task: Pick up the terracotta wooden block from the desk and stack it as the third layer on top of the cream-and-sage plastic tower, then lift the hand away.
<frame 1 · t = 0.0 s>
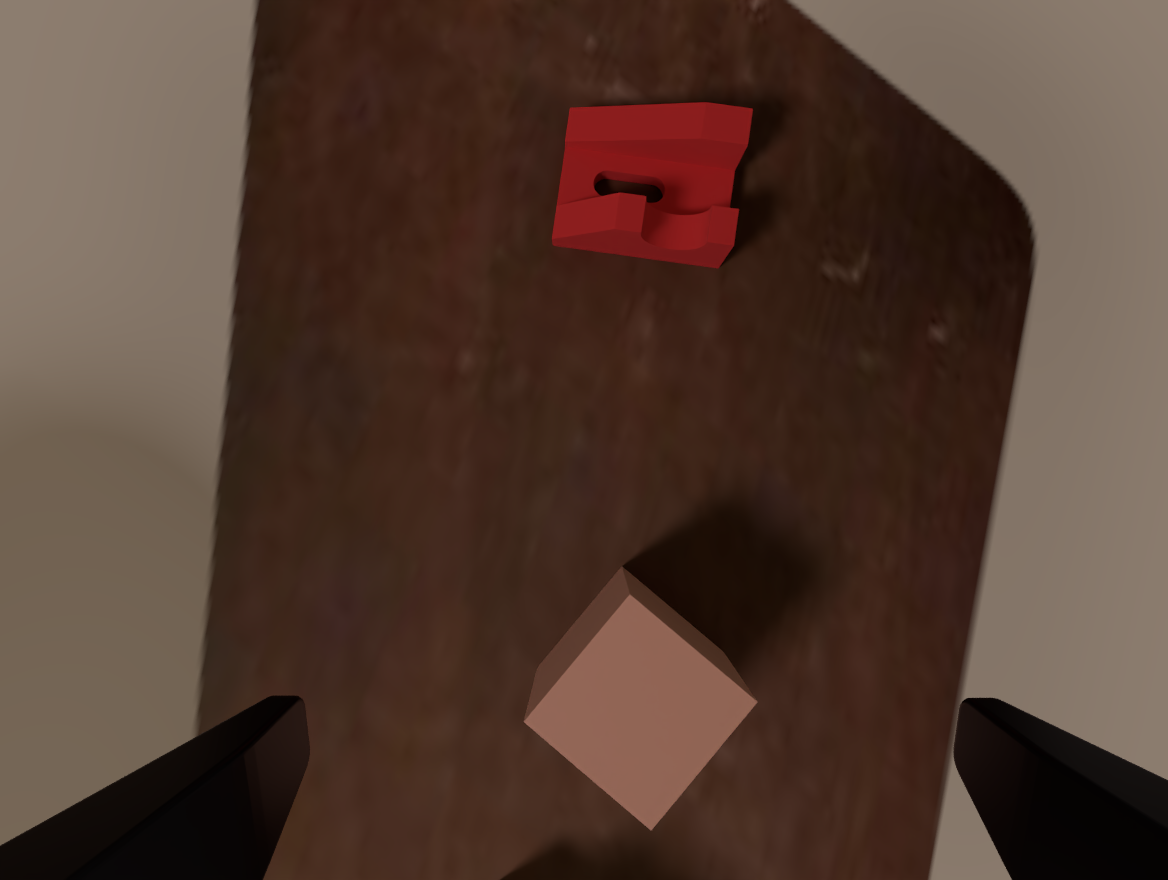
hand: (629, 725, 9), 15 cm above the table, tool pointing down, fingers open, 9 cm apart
terracotta block: (630, 658, 24), on the table
bracket: (643, 201, 25), on the table
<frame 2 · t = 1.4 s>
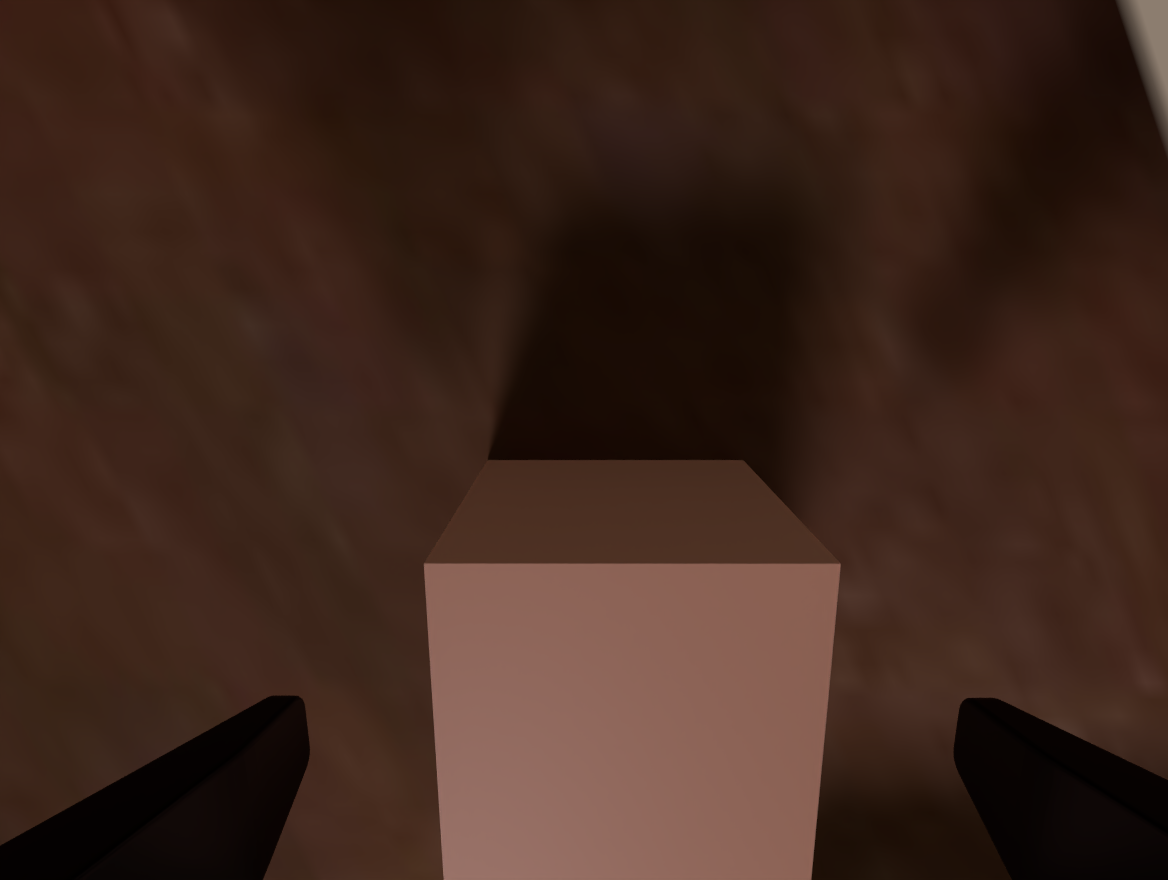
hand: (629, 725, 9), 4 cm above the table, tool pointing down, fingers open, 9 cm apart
terracotta block: (614, 576, 13), on the table
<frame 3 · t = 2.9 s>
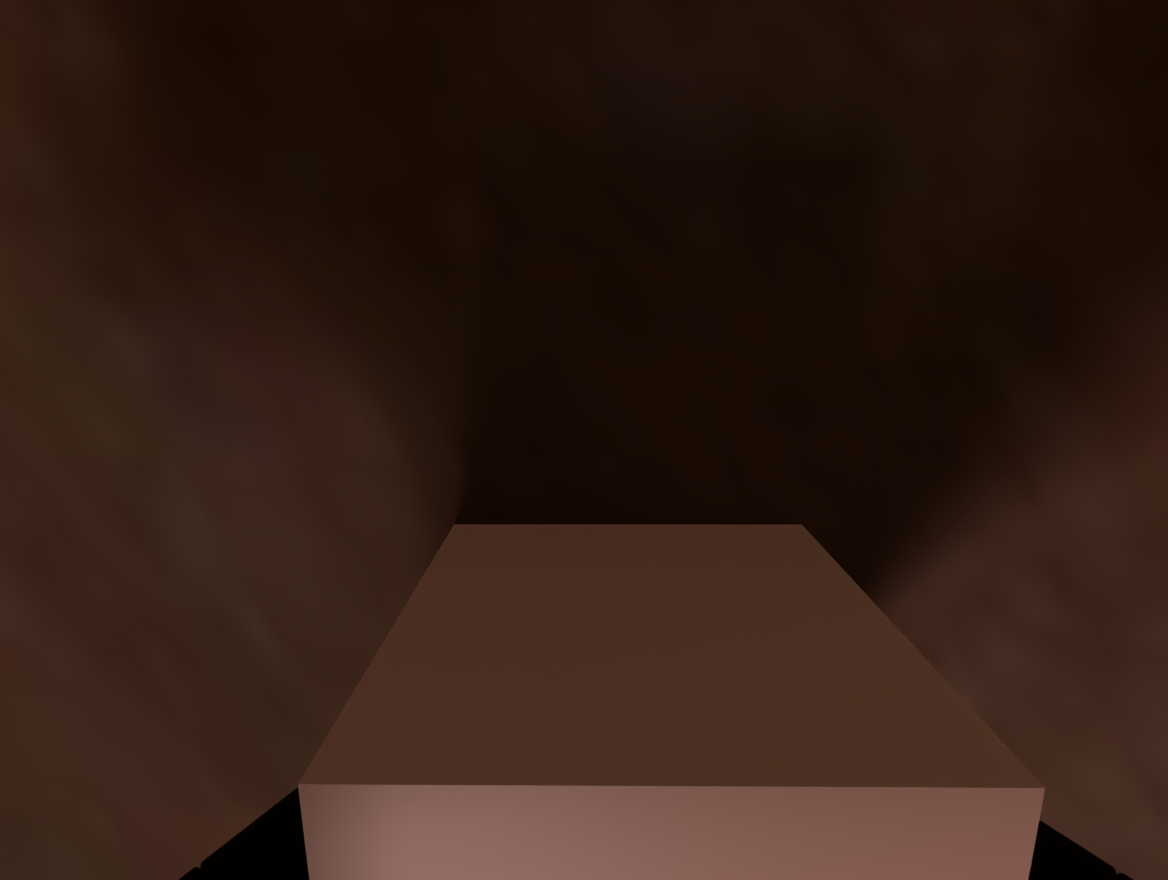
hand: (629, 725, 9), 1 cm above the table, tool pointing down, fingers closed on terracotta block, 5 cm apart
terracotta block: (625, 679, 10), on the table, touching gripper
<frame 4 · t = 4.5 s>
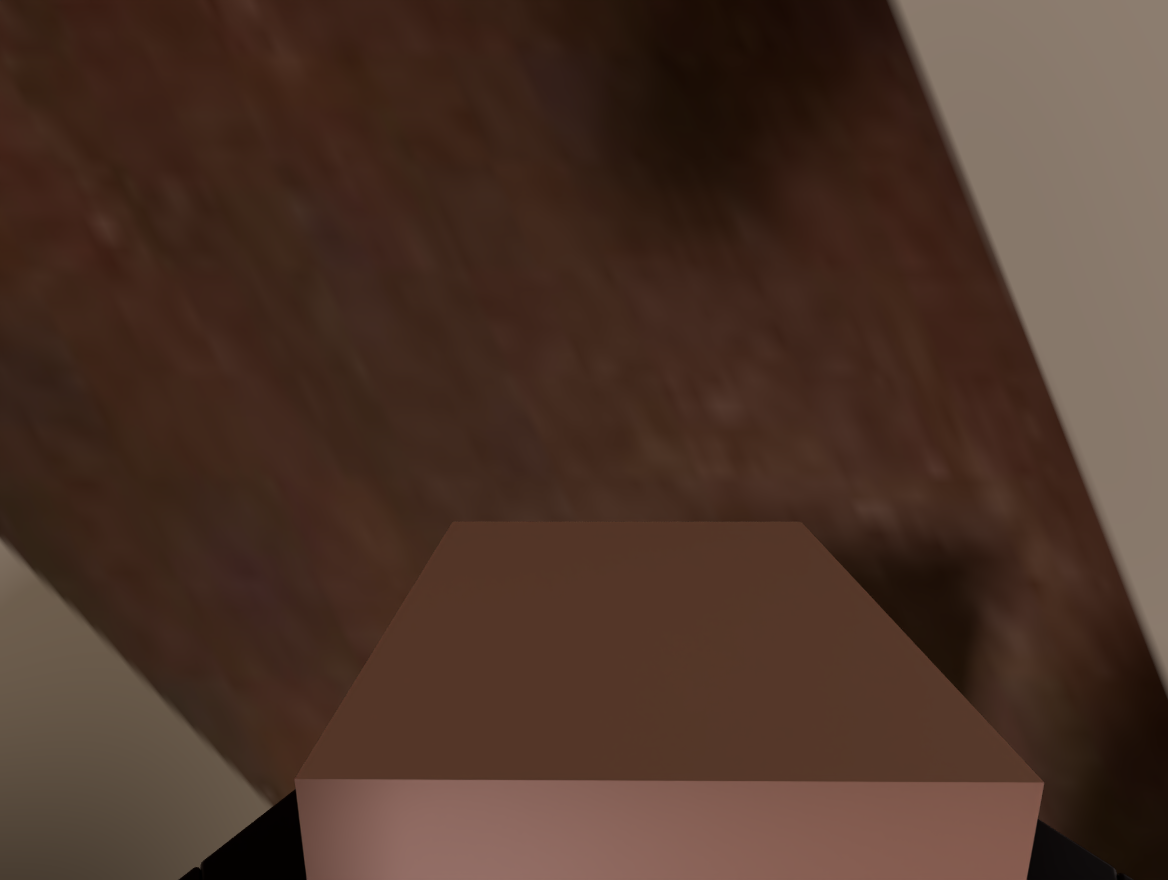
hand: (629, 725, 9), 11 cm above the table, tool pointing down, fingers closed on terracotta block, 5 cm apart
terracotta block: (624, 676, 10), point 9 cm above the table, touching gripper
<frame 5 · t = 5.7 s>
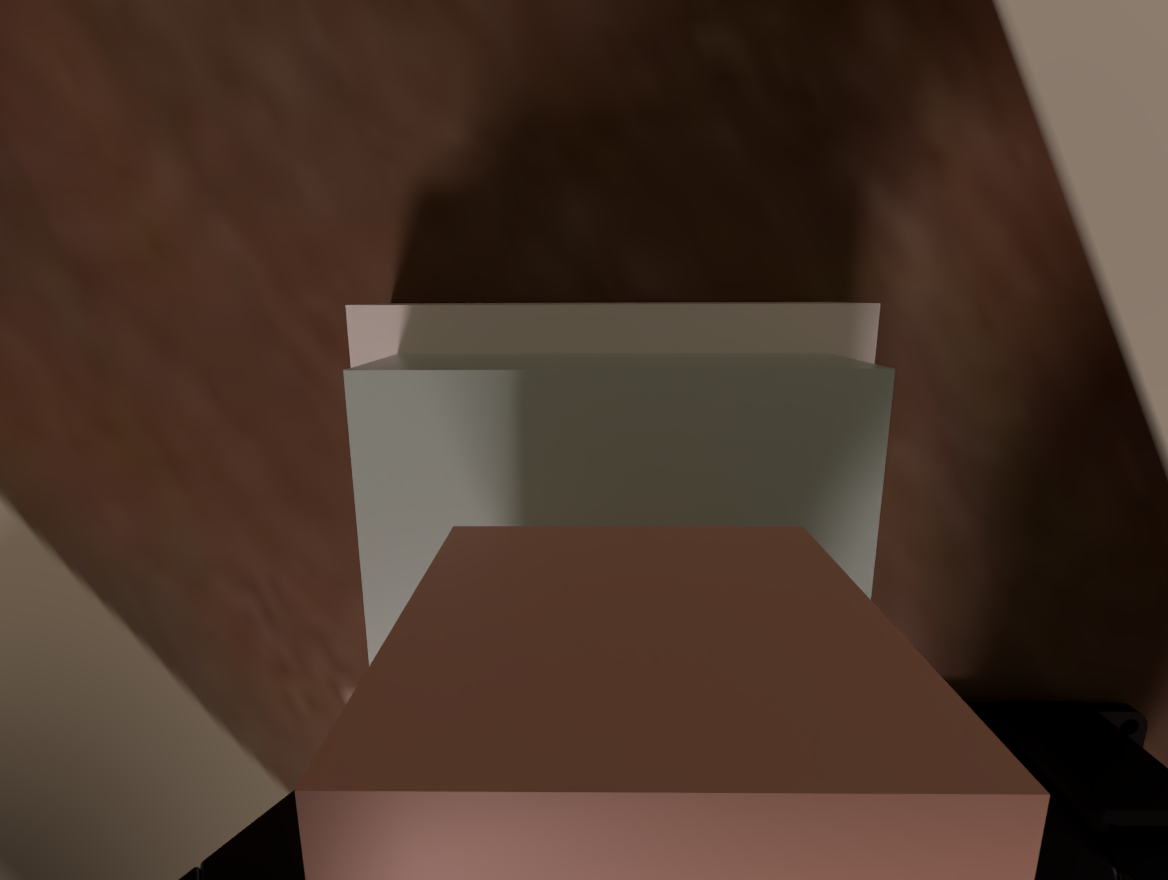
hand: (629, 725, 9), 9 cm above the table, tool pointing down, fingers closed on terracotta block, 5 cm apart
terracotta block: (625, 681, 10), point 8 cm above the table, touching gripper
tower base: (606, 510, 17), on the table
when the fingers open (8 cm above the table, at t = 6.5 s): terracotta block drops 1 cm, resting on tower base.
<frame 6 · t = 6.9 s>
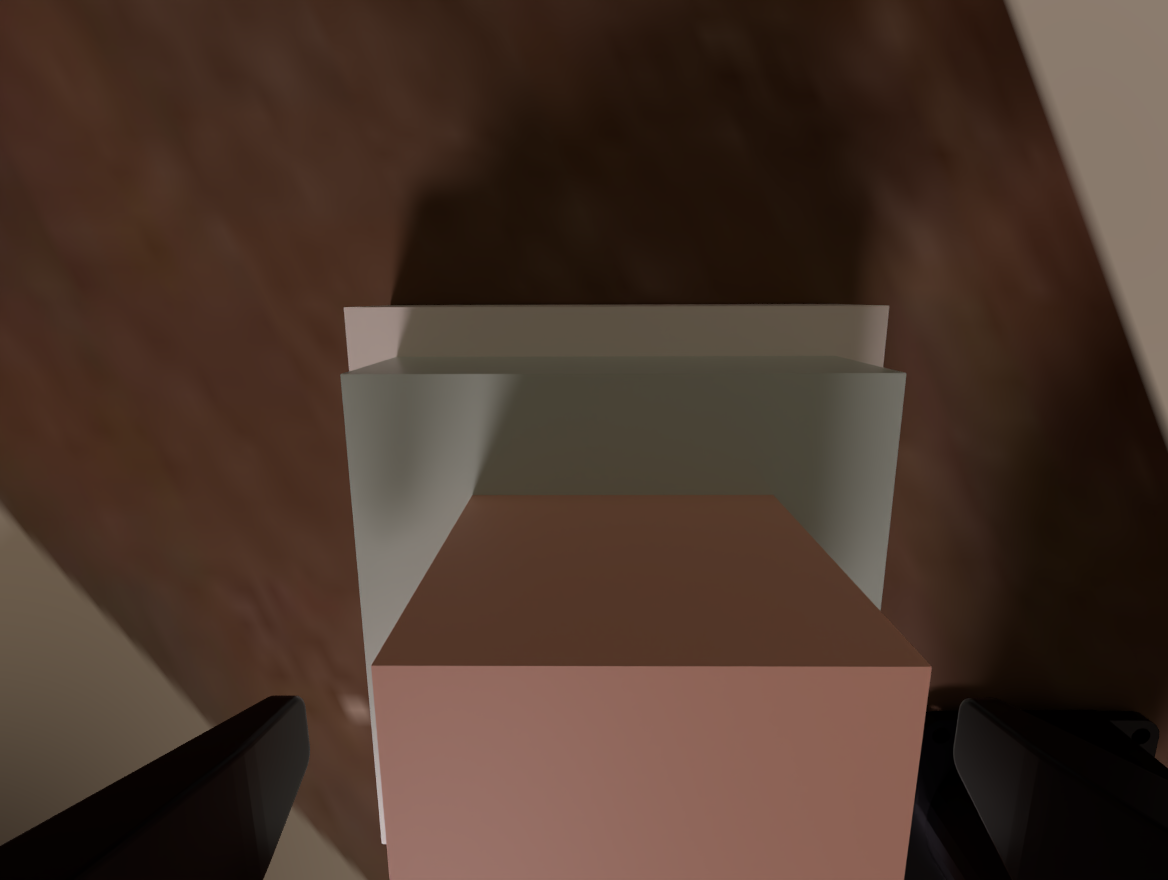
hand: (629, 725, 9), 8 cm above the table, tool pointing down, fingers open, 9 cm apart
terracotta block: (621, 631, 11), point 6 cm above the table, touching tower base
tower base: (609, 515, 17), on the table
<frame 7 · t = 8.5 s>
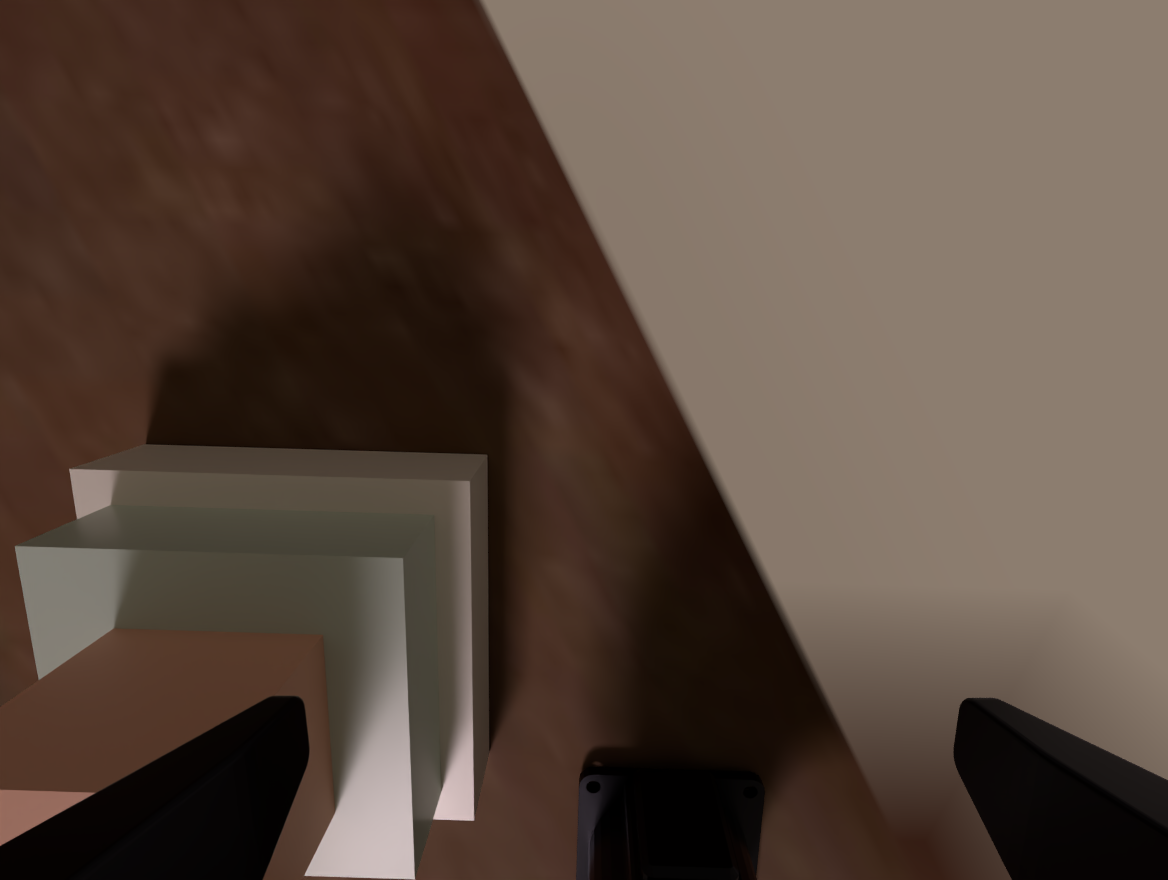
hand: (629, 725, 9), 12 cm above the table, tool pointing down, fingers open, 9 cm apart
terracotta block: (228, 723, 16), point 6 cm above the table, touching tower base
tower base: (326, 607, 21), on the table
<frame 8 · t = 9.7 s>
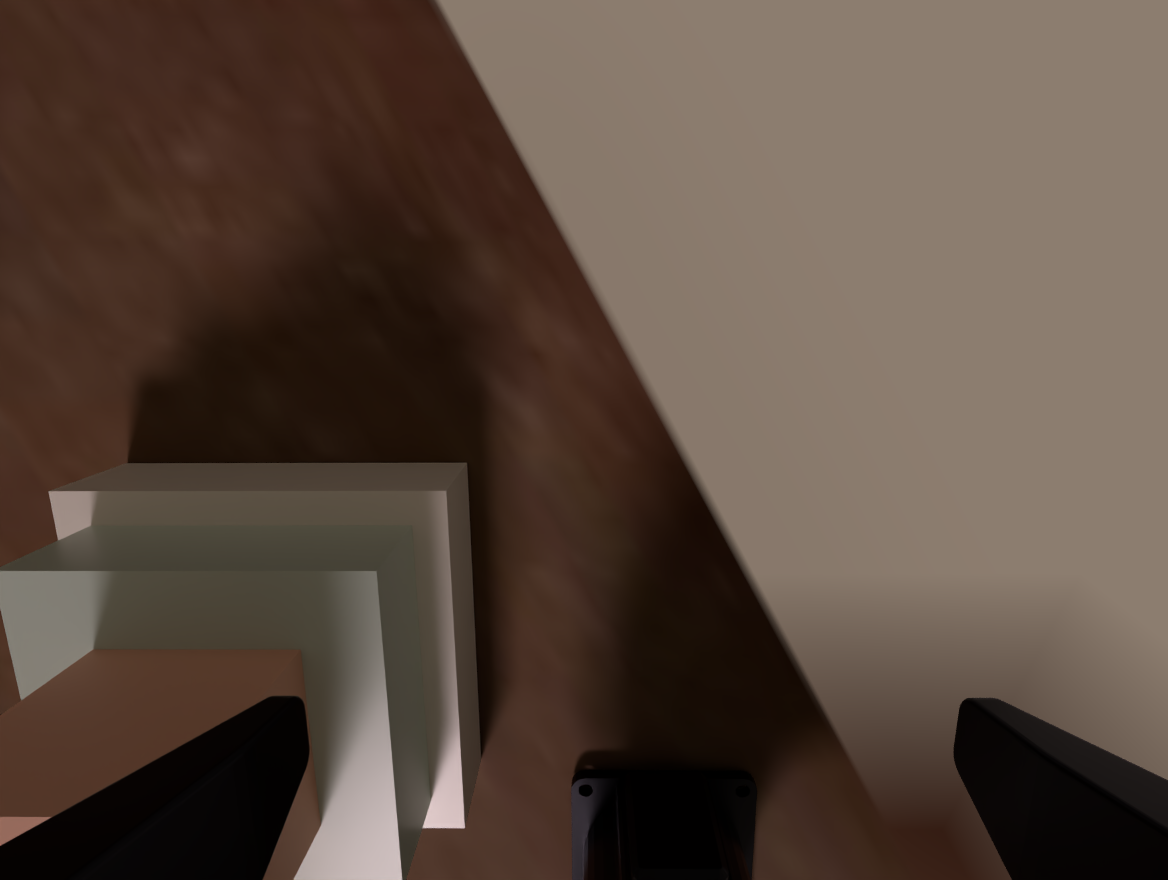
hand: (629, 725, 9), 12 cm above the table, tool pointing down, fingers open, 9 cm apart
terracotta block: (210, 740, 16), point 6 cm above the table, touching tower base
tower base: (313, 619, 22), on the table
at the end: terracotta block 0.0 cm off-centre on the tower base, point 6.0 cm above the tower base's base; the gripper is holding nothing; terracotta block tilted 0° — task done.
